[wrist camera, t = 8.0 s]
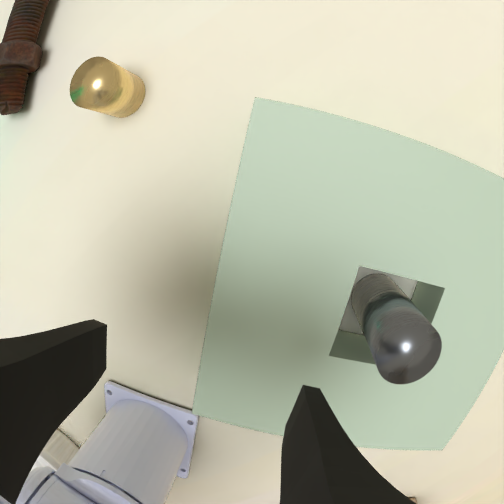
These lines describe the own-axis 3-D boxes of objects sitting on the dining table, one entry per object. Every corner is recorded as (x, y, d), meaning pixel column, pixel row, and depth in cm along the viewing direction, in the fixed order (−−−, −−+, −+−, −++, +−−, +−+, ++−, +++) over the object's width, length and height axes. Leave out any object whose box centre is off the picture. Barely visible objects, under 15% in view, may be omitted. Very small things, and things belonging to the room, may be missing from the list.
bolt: (30, 116, 21) (66, -26, 17) (44, 109, 18) (89, -50, 14) (-29, 118, 16) (15, -34, 12) (-26, 109, 13) (30, -61, 9)
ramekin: (92, 439, 25) (67, 472, 20) (104, 490, 28) (87, 518, 23) (16, 397, 26) (-10, 420, 21) (36, 453, 29) (17, 475, 24)
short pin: (139, 119, 18) (105, 108, 14) (101, 116, 18) (64, 107, 14) (150, 74, 17) (119, 55, 13) (112, 74, 17) (77, 58, 13)
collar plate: (429, 421, 20) (442, 450, 16) (205, 382, 21) (191, 413, 18) (519, 199, 16) (551, 205, 12) (262, 112, 17) (255, 97, 13)
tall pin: (388, 323, 19) (423, 387, 12) (344, 314, 19) (366, 379, 12) (404, 279, 18) (452, 329, 11) (359, 268, 18) (392, 316, 11)
